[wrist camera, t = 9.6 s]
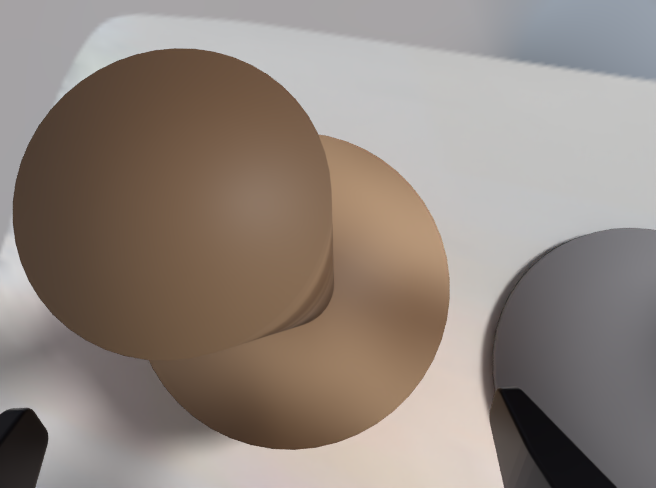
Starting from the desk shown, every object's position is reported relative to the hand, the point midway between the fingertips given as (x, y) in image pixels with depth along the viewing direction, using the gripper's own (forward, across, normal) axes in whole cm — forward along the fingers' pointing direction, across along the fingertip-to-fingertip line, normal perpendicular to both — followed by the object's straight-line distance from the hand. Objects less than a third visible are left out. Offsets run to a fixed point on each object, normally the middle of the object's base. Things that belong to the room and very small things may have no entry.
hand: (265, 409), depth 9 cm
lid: (+8, 0, +3) cm, 8 cm away
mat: (+8, -15, +10) cm, 20 cm away
